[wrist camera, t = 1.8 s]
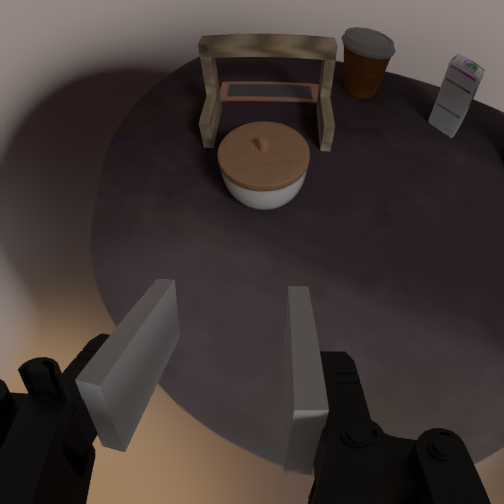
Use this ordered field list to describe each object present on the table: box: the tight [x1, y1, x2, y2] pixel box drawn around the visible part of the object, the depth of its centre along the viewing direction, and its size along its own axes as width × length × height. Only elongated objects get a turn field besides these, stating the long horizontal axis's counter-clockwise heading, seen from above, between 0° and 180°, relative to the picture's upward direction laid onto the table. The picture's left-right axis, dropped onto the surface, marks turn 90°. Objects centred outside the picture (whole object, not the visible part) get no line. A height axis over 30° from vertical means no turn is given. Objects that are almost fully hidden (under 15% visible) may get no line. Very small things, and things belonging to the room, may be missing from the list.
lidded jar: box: [218, 122, 310, 210], centre depth 39 cm, size 11×11×9 cm
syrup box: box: [428, 54, 485, 138], centre depth 43 cm, size 6×6×14 cm
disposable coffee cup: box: [342, 27, 395, 99], centre depth 48 cm, size 10×10×12 cm
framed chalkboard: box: [220, 82, 319, 103], centre depth 53 cm, size 18×6×1 cm, turn 86°
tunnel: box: [198, 34, 337, 151], centre depth 42 cm, size 19×10×14 cm, turn 86°
